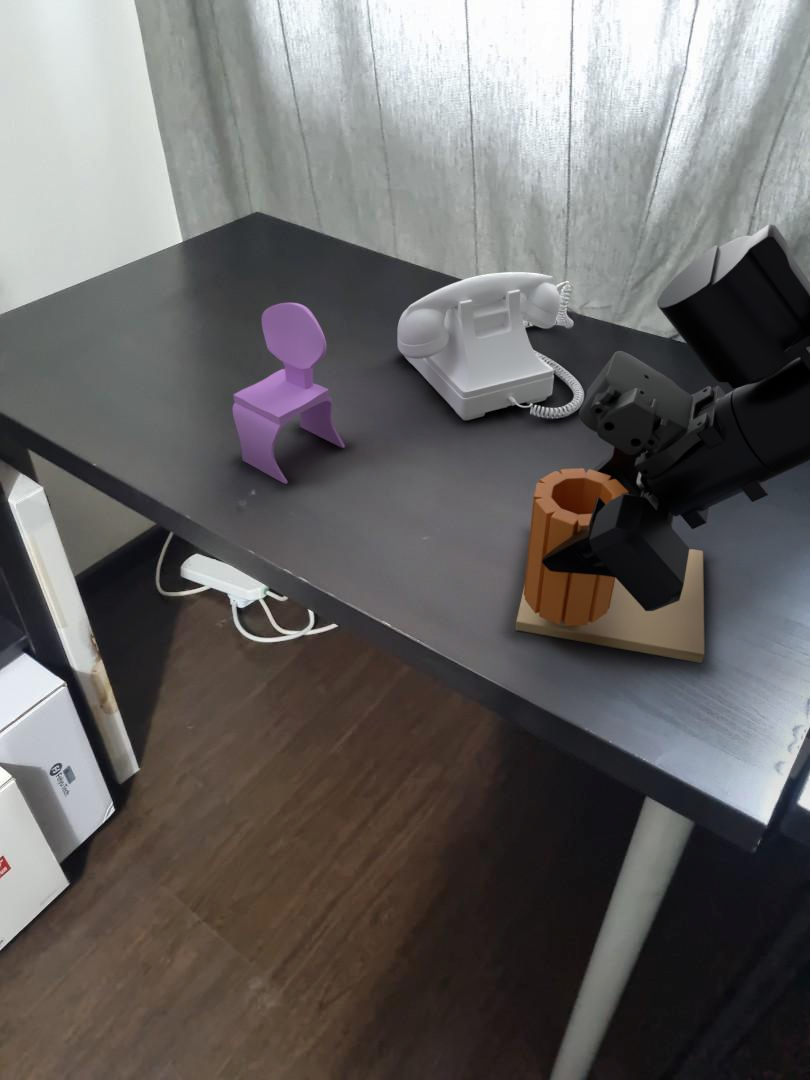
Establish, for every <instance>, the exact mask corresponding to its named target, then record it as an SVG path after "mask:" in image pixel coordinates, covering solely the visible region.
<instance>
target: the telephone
mask: <svg viewBox="0 0 810 1080" xmlns="http://www.w3.org/2000/svg"><path fill="white" fill-rule="evenodd" d="M569 288H572V289H574V288H575V286H574V285H573V284H572V283H571V282H570V281H568V280H566V281H563V282H561V283H558V284H556V283H555V279H554V277H553V276H552V275H548V274H542V273H536V272H526V271H525V272H523V271H508V272H493V273H487V274H481V275H475V276H473V277H467V278H465V279H462V280H459V281H456V282H453V283H450V284H447V285H446V286H443V287H441V288H438V289H436V290H434V291H432V292H431V293H429V294H427V295H425V296H423V297H420V299H418V300H416V301H414V302H413V303H411V304H410V305H408V307H407V308H406V309H404V310H403V312H402V313H401V315H400V318H399V320H398V324H397V331H396V332H397V334H396V335H397V336H396V337H397V338H396V339H397V342H396V343H397V349H398V351H399V352H400V353H401V354H402V356H404V358H405V359H406V360H407V361H408V363H409V364H410V365H412V366H413V367H414V368H415V369H416V371H418V373H419V374H420V375H421V376H422V377H423V378H424V379H425V380H426V381H427V382H428V383H429V384H430V386H431V387H432V388H434V389H435V391H436V392H437V393H438V394H439V395H440V396H441V397H442V398H443V400H445V401H446V402H447V404H448V405H449V406H450V407H451V408H452V409H453V410H454V412H455V413H456V415H458V416H459V417H460V418H461V420H463V421H471V420H474V419H477V418H481V417H485V414H486V413H488V412H492V411H497V410H500V409H506V408H508V407H513V406H515V405H516V406H517V407H520V408H522V409H528V408H530V410H529V411H530V412H529V415H531V416H532V415H533V416H534V417H538V418H543V419H552V420H553V419H561V418H565V417H568V416H570V415H572V414H574V413H575V412H577V410H580V408H581V407H582V405H583V403H584V400H585V391H584V388H583V387H582V385H581V383H580V381H579V380H578V379H577V378H576V377H575V376H574V375H572V373H570V372H569V371H568V370H567V369H565V368H564V367H563V366H561V364H559V363H557V362H556V361H555V360H553V359H551V358H550V357H548V356H546V355H544V354H542V353H540V352H538V351H537V350H535V349H533V346H532V344H531V342H530V339H529V337H528V333H527V330H526V328H530V327H534V326H535V327H538V328H541V329H547V330H548V329H551V328H553V327H554V326H561V327H564V328H566V329H568V330H570V329H572V328H573V327H574V325H575V323H574V320H573V319H572V318H570V317H569V315H568V312H567V311H568V310H567V309H568V304H569V301H570V297H571V293H572V292H573V290H572V289H569ZM559 290H561V291H560V293H559ZM555 376H557V377H558V378H559V379H560V380H561V381H563V383H565V384H566V385H567V387H568V388H569V389H570V391H572V393H573V394H572V395H573V398H572V400H571V401H570V402H568V403H566V404H565V405H562V406H559V407H545V406H542V407H541V405H537V404H536V403H539V402H543V401H546V400H547V398H548V397H550V396H552V395H553V389H554V381H555V380H554V379H555ZM524 403H526V405H521V404H524Z"/></svg>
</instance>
